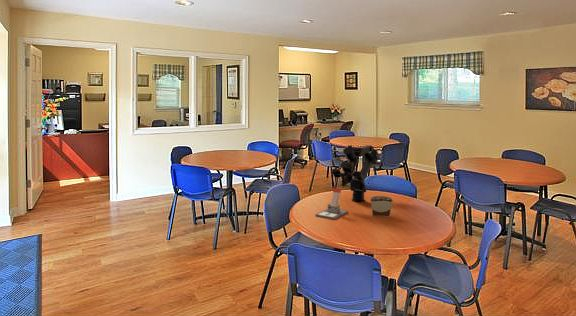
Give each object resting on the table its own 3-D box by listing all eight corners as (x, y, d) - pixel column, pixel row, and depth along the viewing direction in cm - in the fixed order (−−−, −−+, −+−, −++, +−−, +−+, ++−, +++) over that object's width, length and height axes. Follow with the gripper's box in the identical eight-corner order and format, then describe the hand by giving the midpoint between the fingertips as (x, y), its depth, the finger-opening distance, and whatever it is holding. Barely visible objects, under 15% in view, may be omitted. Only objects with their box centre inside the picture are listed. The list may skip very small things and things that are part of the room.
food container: (390, 213, 238) (391, 196, 237) (392, 216, 232) (393, 198, 231) (368, 212, 240) (369, 195, 238) (369, 215, 234) (370, 198, 232)
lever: (330, 208, 240) (334, 188, 242) (337, 209, 237) (341, 189, 239) (329, 207, 238) (332, 188, 240) (336, 208, 236) (339, 189, 237)
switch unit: (329, 209, 247) (329, 201, 246) (347, 212, 240) (348, 204, 239) (315, 216, 233) (315, 207, 233) (334, 219, 227) (335, 210, 226)
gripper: (333, 155, 252) (323, 176, 245) (362, 157, 242) (353, 180, 235) (338, 166, 260) (330, 187, 253) (367, 169, 250) (359, 191, 242)
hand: (342, 186), depth 245 cm, fingers closed
